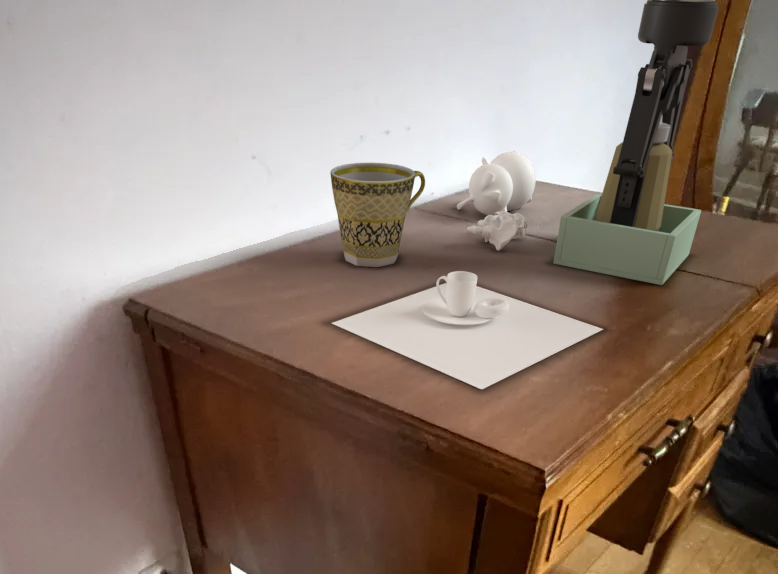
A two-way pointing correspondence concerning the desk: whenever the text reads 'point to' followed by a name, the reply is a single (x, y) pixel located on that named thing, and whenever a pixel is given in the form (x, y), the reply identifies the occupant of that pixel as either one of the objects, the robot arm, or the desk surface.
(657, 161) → the squeeze bottle
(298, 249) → the desk surface
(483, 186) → the cat figurine
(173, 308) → the desk surface
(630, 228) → the bin
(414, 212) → the desk surface
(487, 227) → the anatomical pelvis
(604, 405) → the desk surface
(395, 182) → the ceramic cup
